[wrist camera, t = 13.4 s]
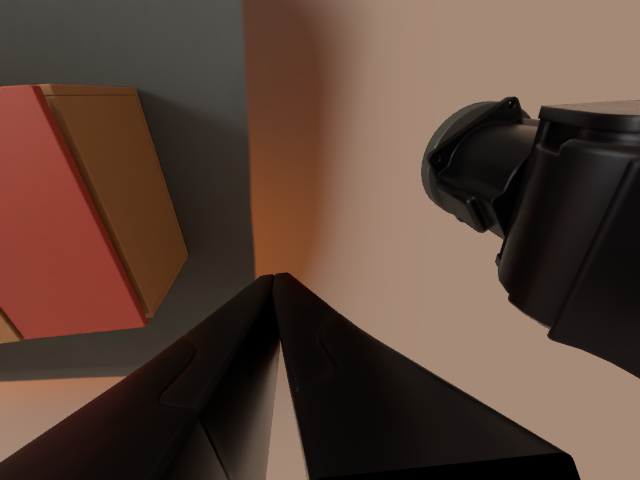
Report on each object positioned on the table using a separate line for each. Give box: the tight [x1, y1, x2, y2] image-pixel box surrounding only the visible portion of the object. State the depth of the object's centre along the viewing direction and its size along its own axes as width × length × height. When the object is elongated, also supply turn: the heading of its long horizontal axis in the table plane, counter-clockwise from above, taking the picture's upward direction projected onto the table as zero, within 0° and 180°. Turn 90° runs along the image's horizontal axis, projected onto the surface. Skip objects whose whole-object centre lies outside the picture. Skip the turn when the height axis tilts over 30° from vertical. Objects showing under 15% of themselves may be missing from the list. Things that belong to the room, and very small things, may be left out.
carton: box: [0, 84, 189, 343], centre depth 15 cm, size 13×12×8 cm
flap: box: [0, 85, 148, 339], centre depth 13 cm, size 6×12×1 cm, turn 3°
